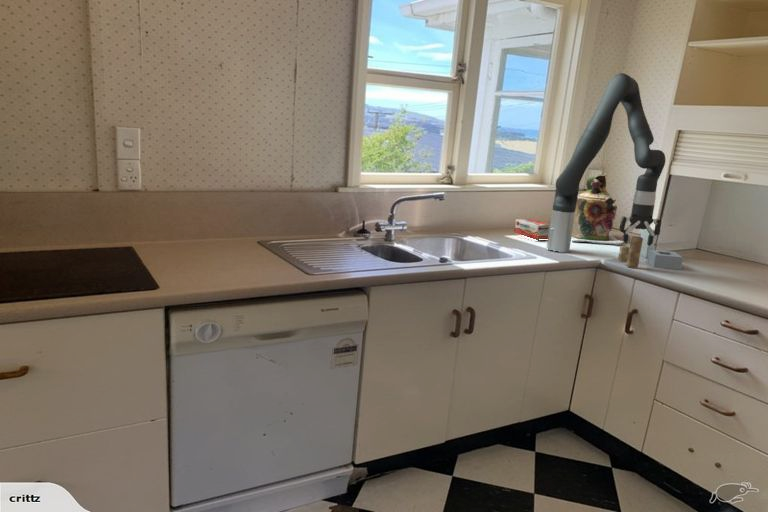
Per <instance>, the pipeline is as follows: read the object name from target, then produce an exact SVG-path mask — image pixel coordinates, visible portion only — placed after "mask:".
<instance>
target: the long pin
mask: <svg viewBox="0 0 768 512" xmlns="http://www.w3.org/2000/svg"><path fill="white" fill-rule="evenodd" d="M629 241H630V243H629V253H628V259H627V262H626V267H627V268H629V269H635V270H636V269H638V268H639V263H640V258H641V257H640V252H641V247H642V241H643V238H642V237H640V236H637V235H636V236H634V235H631V237H630V240H629Z"/></svg>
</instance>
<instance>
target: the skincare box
mask: <svg viewBox="0 0 768 512" xmlns="http://www.w3.org/2000/svg"><path fill="white" fill-rule="evenodd" d="M651 229H652V231H653V232H654V231H655V227H654V228H653V227H651ZM649 235H650V234H649V232H648V231H647V230H646V229H645V230H644V229H641V232H640V236H639V237H642V238H643V241H642V247H641V252H640V258H646V259H647V256H648V251H649V249H650V250H656V246H657V240H658V239H657V238H658V235H655V236H654V238H653V243H652V244H651V245H650V246H649V245H647V242H648V236H649Z"/></svg>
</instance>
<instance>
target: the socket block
mask: <svg viewBox="0 0 768 512" xmlns="http://www.w3.org/2000/svg"><path fill="white" fill-rule="evenodd" d="M683 259H684V258H683V256H682V255H680V254H679V253H677V252H676V251H669V250H660V249H658V250H657V249H655V250H650V249H649V251H648V256H647V258H646V262H647V263H648V264H650V265H651V267H653V268H660V269H667V270H668V269H670V270H679V271H681V270H682V269H681V268H682V265H683V264H682V263H683Z"/></svg>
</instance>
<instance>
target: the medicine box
mask: <svg viewBox="0 0 768 512" xmlns="http://www.w3.org/2000/svg"><path fill="white" fill-rule="evenodd" d="M550 224H551V223H550ZM550 224H549V223H547V222H543V221H538V220H534V219H530V218H521V219H520V218H519V219H518V218H517V219H515V222H514V229H513V230H514V231H513V233H514V232H515V233H518V234H521V235H524V236H527V237H530V238H533V239H536V240H539V239H548V233H549V227H550Z"/></svg>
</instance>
